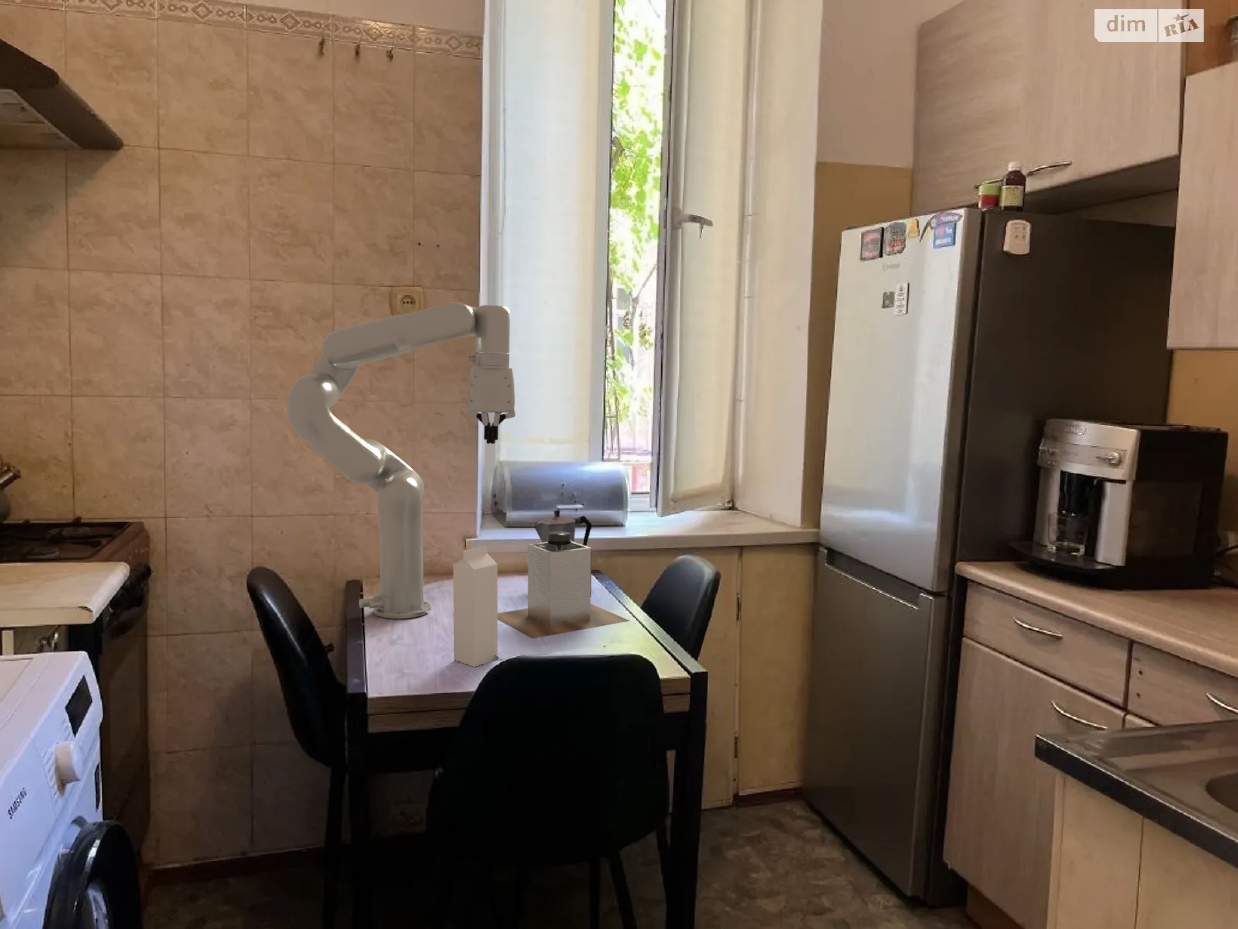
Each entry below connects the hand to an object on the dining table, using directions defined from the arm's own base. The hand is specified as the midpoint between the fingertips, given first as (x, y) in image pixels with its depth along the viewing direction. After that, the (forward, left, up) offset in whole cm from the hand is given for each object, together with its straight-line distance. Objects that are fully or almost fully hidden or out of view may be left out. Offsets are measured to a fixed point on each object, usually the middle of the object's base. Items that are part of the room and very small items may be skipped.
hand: (491, 443), depth 207 cm
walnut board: (+8, -17, -39) cm, 43 cm away
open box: (+9, -17, -37) cm, 42 cm away
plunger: (+8, -17, -31) cm, 37 cm away
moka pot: (+24, +9, -39) cm, 46 cm away
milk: (-18, -30, -39) cm, 52 cm away
